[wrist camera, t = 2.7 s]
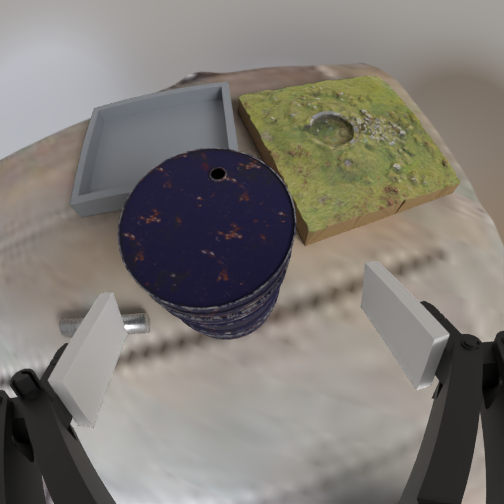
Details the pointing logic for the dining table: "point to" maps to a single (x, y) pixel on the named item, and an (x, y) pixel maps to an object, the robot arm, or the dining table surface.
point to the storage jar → (210, 239)
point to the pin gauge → (131, 321)
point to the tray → (147, 140)
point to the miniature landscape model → (346, 152)
